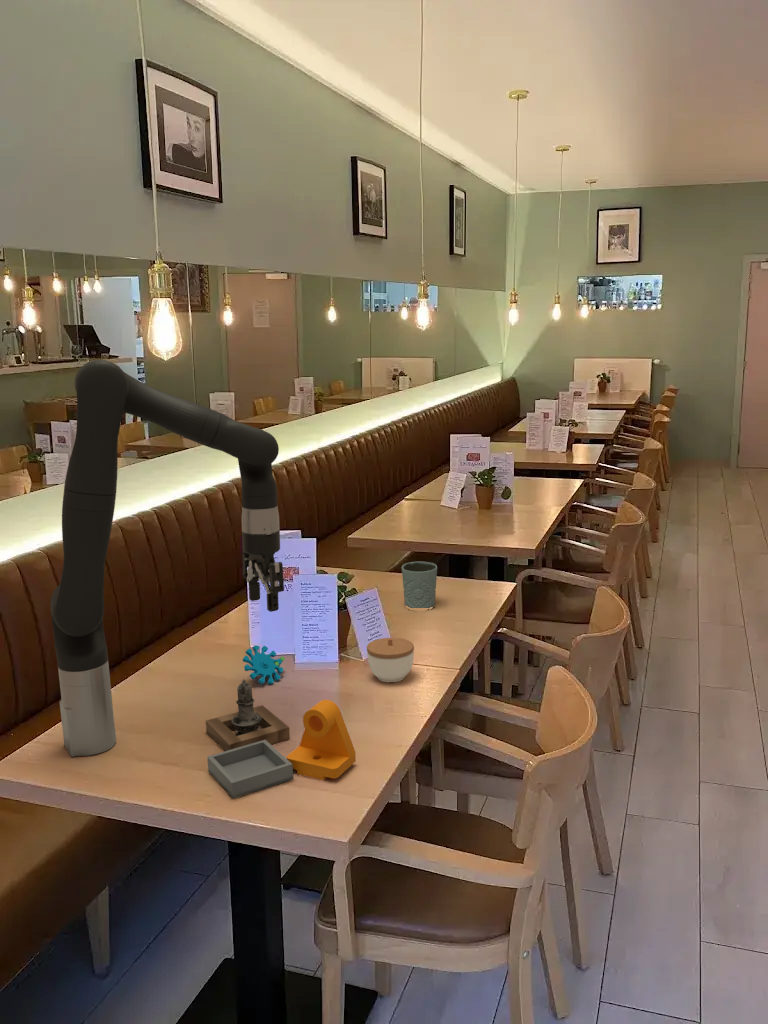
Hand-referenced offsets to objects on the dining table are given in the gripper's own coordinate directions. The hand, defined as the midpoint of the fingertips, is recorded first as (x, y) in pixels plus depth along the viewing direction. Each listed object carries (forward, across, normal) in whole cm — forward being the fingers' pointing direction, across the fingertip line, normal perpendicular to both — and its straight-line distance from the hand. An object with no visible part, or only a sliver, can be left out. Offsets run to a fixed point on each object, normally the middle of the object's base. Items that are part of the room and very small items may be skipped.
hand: (263, 605), depth 182 cm
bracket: (+24, +27, -2) cm, 36 cm away
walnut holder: (+24, +7, -8) cm, 26 cm away
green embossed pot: (+23, -37, +66) cm, 79 cm away
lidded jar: (+23, 0, +31) cm, 39 cm away
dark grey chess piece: (+24, +7, -8) cm, 26 cm away
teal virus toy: (+24, -17, +8) cm, 30 cm away
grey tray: (+24, +22, -14) cm, 35 cm away
